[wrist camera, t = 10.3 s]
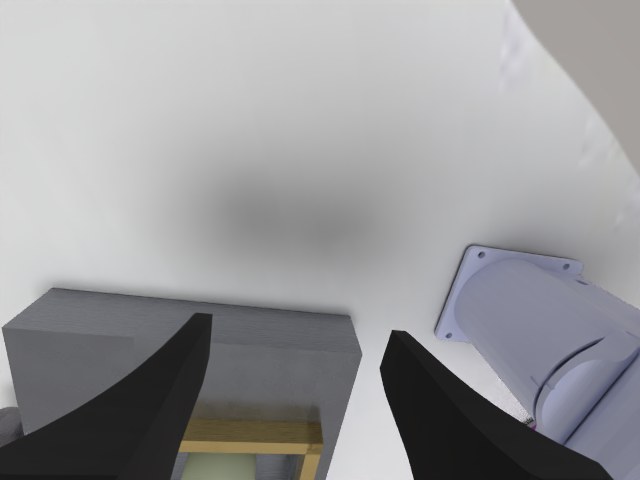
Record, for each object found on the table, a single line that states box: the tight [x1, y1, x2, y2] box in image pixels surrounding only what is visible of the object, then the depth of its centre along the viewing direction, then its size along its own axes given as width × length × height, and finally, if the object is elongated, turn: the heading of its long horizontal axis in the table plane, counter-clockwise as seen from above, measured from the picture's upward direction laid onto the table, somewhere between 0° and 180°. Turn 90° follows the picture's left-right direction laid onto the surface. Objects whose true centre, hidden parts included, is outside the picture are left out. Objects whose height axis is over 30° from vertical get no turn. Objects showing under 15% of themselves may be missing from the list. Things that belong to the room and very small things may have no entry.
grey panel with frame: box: [0, 288, 362, 480], centre depth 23 cm, size 23×22×6 cm
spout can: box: [181, 452, 257, 480], centre depth 23 cm, size 5×5×8 cm
